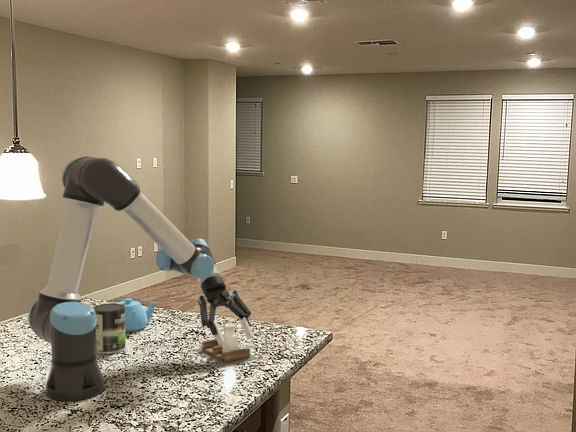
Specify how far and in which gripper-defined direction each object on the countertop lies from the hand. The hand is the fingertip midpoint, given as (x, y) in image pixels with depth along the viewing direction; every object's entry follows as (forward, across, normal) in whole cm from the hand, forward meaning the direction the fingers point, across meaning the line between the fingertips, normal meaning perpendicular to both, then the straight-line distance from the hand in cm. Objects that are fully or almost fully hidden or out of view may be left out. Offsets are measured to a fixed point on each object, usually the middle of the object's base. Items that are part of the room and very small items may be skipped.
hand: (236, 340), depth 195 cm
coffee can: (-19, +28, -28) cm, 44 cm away
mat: (0, 0, -9) cm, 9 cm away
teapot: (-32, +13, -42) cm, 54 cm away
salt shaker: (+2, 0, -6) cm, 6 cm away
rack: (0, 0, -9) cm, 9 cm away
